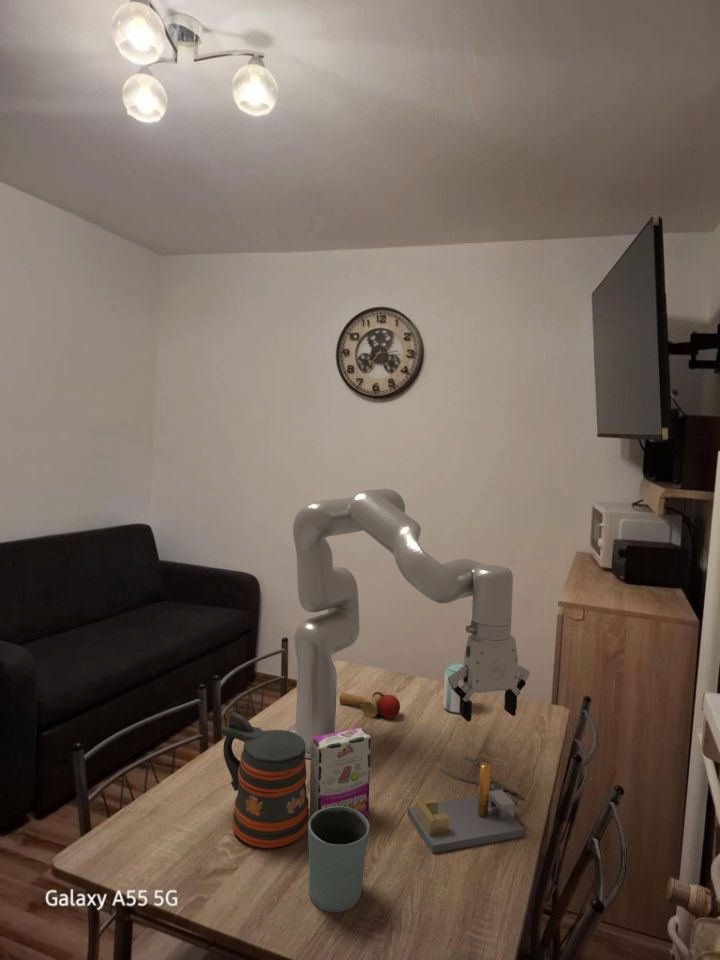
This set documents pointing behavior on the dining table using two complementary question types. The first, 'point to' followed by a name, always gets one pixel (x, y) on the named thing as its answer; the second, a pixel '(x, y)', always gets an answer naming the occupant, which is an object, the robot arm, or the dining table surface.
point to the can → (450, 697)
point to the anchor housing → (502, 804)
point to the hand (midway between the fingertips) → (488, 715)
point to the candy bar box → (340, 770)
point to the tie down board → (467, 826)
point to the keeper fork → (431, 817)
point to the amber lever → (485, 791)
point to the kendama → (374, 704)
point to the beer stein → (267, 784)
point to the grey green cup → (336, 857)
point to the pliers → (494, 784)
